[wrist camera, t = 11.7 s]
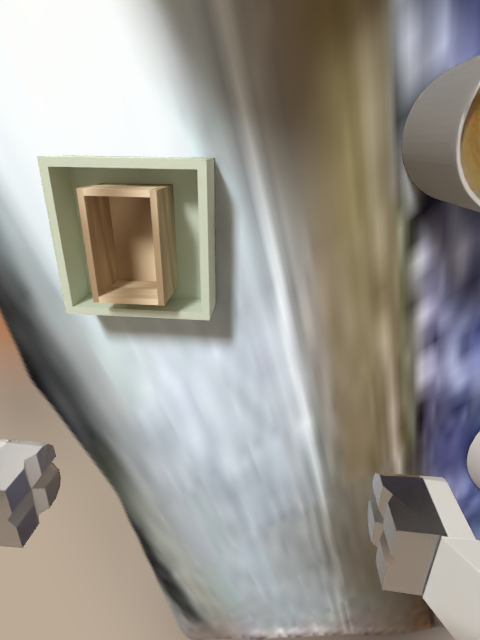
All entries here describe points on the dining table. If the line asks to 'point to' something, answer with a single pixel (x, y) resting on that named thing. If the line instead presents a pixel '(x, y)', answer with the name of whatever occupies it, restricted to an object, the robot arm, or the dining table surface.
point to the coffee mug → (447, 137)
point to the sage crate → (190, 226)
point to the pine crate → (129, 242)
